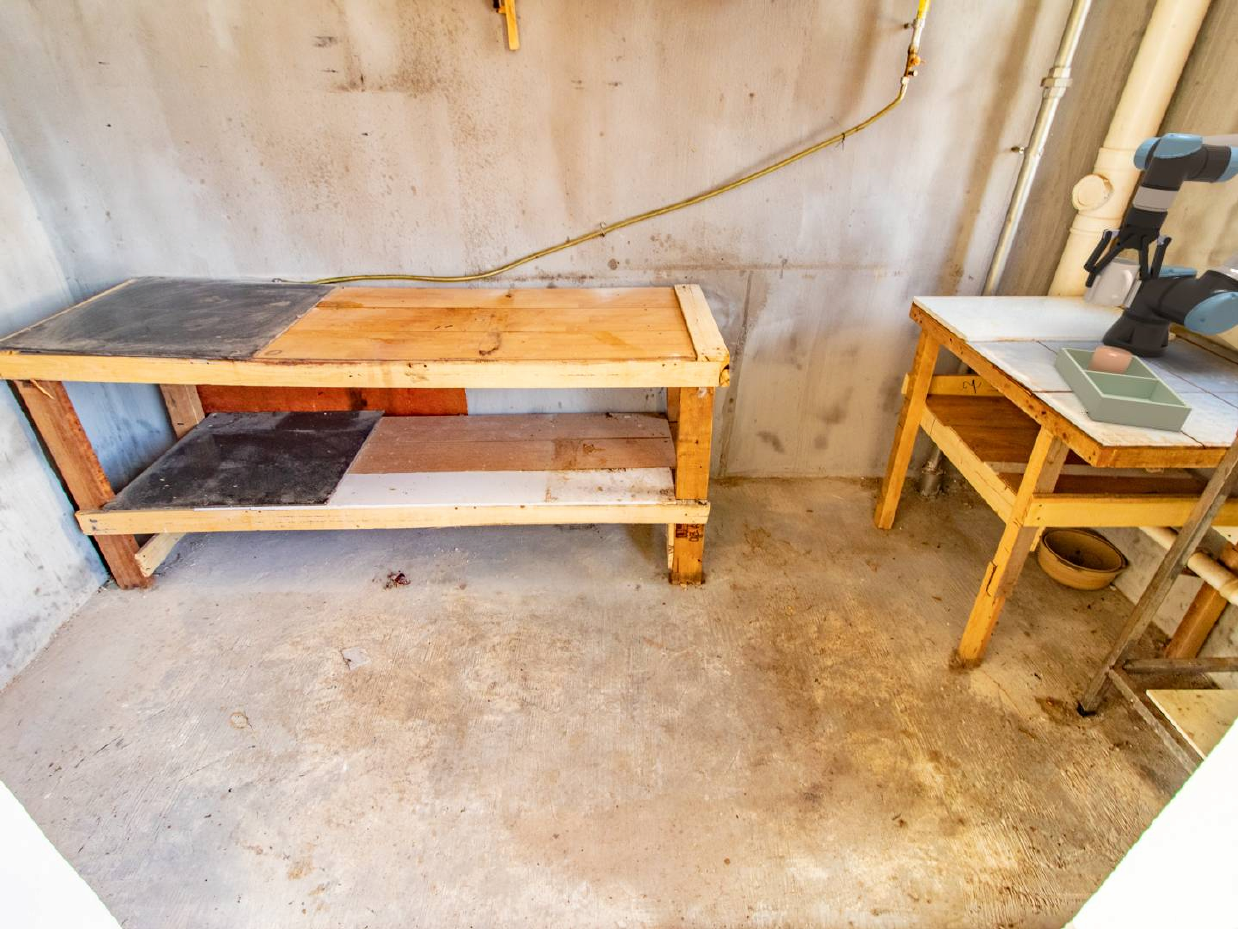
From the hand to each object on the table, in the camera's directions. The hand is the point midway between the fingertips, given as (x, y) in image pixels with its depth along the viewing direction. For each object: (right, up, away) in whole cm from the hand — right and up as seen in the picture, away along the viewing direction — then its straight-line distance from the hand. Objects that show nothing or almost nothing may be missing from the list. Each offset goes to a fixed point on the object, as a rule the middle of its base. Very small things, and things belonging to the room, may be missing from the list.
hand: (1105, 302), depth 163 cm
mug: (0, 0, 0) cm, 1 cm away
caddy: (-3, -24, -5) cm, 25 cm away
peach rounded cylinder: (-1, -20, +1) cm, 20 cm away
